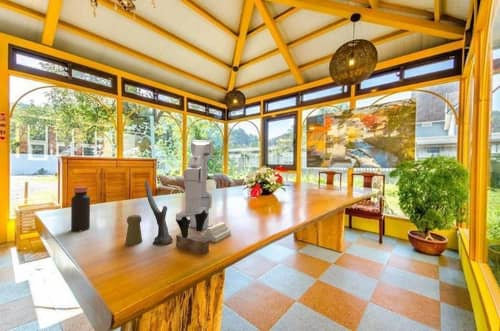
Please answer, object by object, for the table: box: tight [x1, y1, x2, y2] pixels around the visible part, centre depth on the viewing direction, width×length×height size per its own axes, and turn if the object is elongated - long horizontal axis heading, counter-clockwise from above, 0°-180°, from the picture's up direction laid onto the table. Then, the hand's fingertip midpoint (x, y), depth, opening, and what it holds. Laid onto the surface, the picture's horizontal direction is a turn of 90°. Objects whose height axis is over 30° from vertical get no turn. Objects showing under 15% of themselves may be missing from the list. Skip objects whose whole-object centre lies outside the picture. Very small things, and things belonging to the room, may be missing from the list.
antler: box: [144, 180, 174, 246], centre depth 84 cm, size 12×8×25 cm
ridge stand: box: [200, 221, 232, 243], centre depth 92 cm, size 8×11×5 cm
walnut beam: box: [175, 233, 210, 255], centre depth 79 cm, size 14×3×4 cm, turn 61°
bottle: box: [70, 186, 91, 233], centre depth 96 cm, size 7×7×20 cm
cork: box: [125, 214, 143, 246], centre depth 83 cm, size 6×6×11 cm
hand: (192, 234), depth 79 cm, fingers open, 7 cm apart
